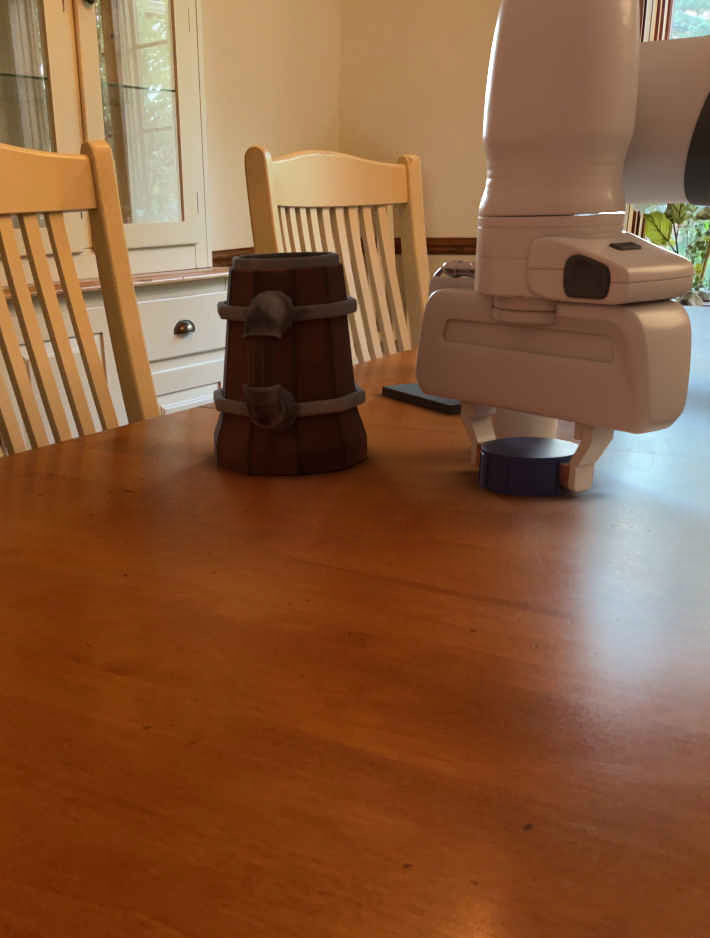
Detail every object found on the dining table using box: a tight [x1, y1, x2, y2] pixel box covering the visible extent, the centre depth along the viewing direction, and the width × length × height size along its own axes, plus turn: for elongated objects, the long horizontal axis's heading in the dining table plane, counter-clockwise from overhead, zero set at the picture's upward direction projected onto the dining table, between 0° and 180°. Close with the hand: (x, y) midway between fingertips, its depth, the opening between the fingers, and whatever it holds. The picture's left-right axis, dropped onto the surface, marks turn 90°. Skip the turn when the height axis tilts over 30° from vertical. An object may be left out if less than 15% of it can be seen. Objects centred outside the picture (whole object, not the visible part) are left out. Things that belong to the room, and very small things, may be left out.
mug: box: [212, 251, 368, 477], centre depth 76 cm, size 16×12×15 cm
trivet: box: [381, 382, 461, 416], centre depth 101 cm, size 12×12×1 cm
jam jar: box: [490, 408, 559, 439], centre depth 77 cm, size 5×5×11 cm
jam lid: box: [477, 437, 579, 498], centre depth 71 cm, size 7×7×3 cm
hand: (528, 477), depth 71 cm, fingers closed on jam lid, 6 cm apart
